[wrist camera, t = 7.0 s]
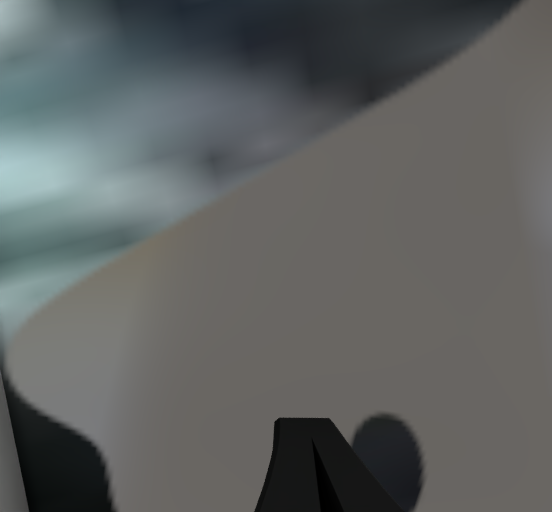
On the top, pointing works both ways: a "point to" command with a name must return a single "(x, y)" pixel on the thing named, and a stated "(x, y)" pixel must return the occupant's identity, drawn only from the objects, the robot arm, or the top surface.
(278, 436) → the robot arm
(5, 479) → the tube
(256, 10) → the top surface
